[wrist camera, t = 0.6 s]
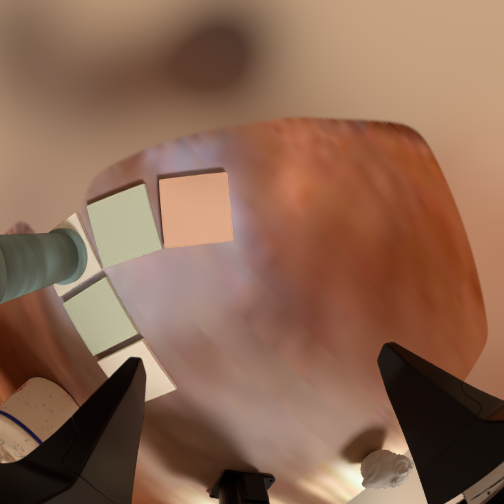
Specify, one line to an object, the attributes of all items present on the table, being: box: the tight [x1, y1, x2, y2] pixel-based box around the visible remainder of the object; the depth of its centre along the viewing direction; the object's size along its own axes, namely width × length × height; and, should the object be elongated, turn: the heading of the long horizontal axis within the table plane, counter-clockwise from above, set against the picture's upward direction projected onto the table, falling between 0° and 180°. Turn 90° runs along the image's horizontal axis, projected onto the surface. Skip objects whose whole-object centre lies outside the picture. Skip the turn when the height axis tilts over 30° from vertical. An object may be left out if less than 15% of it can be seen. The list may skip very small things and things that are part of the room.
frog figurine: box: [361, 450, 414, 489], centre depth 23 cm, size 6×7×7 cm
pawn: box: [0, 228, 88, 304], centre depth 14 cm, size 5×5×13 cm
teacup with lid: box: [0, 377, 79, 463], centre depth 15 cm, size 12×9×12 cm
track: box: [51, 172, 234, 402], centre depth 21 cm, size 23×17×1 cm
